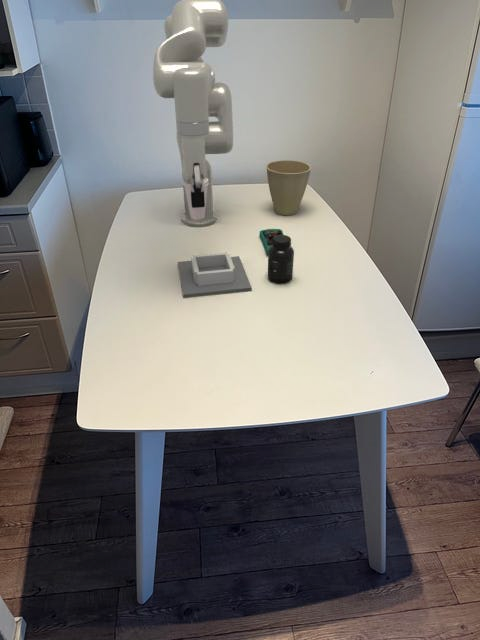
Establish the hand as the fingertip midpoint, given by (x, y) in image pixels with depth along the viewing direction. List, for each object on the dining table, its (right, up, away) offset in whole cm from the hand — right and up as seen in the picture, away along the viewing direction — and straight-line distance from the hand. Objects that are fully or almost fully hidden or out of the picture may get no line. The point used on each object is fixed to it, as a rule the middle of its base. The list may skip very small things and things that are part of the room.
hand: (197, 201), depth 124 cm
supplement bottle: (+22, -19, +11) cm, 31 cm away
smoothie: (0, -3, +2) cm, 4 cm away
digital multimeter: (+22, -7, +28) cm, 36 cm away
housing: (+3, -18, +12) cm, 22 cm away
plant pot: (+27, +8, +49) cm, 57 cm away
